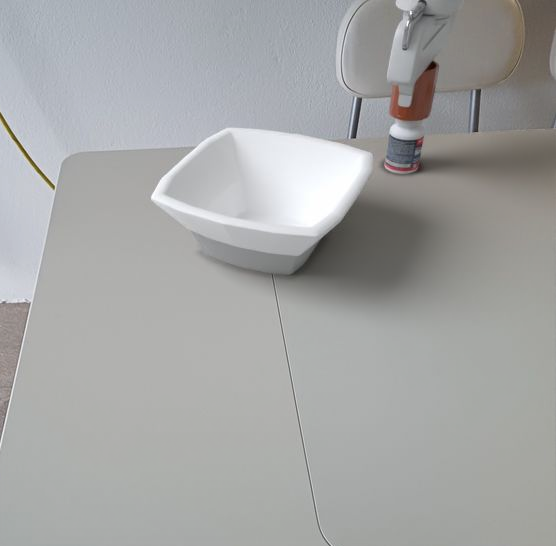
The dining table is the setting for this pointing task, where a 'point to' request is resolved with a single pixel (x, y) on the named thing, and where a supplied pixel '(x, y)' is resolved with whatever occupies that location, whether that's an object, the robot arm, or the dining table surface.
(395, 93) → the cup
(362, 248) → the dining table surface
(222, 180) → the bowl
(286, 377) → the dining table surface
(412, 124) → the pill bottle
